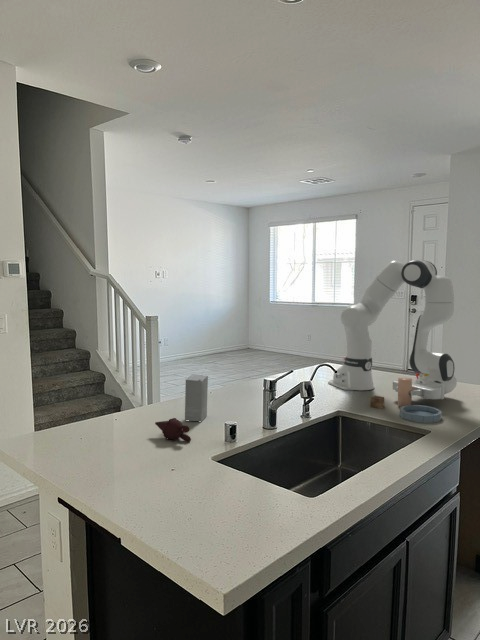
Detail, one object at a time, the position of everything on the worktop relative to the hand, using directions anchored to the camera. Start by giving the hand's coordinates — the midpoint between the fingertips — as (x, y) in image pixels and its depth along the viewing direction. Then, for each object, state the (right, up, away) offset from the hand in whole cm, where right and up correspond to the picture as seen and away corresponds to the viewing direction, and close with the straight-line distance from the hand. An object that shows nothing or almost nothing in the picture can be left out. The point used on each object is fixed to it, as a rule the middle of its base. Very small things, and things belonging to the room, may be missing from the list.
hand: (403, 391), depth 187 cm
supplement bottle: (+23, -3, +37) cm, 44 cm away
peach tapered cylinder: (+1, -6, +1) cm, 6 cm away
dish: (+2, -7, -14) cm, 16 cm away
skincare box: (-81, -8, -15) cm, 83 cm away
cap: (+27, -2, +50) cm, 57 cm away
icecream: (-87, -10, -35) cm, 94 cm away
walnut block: (-10, -6, 0) cm, 12 cm away
